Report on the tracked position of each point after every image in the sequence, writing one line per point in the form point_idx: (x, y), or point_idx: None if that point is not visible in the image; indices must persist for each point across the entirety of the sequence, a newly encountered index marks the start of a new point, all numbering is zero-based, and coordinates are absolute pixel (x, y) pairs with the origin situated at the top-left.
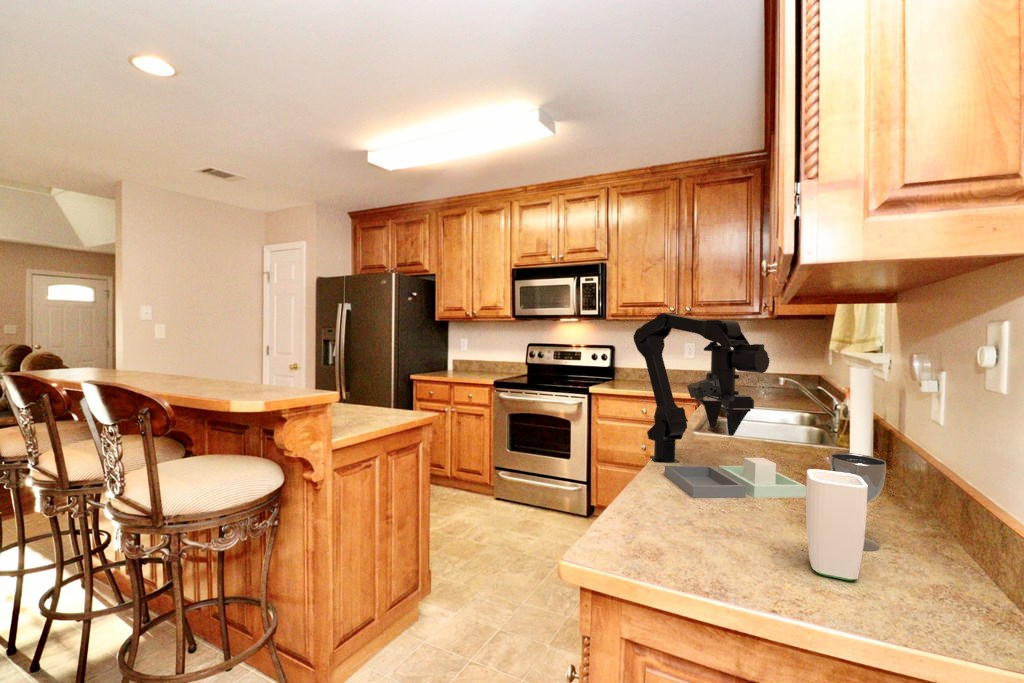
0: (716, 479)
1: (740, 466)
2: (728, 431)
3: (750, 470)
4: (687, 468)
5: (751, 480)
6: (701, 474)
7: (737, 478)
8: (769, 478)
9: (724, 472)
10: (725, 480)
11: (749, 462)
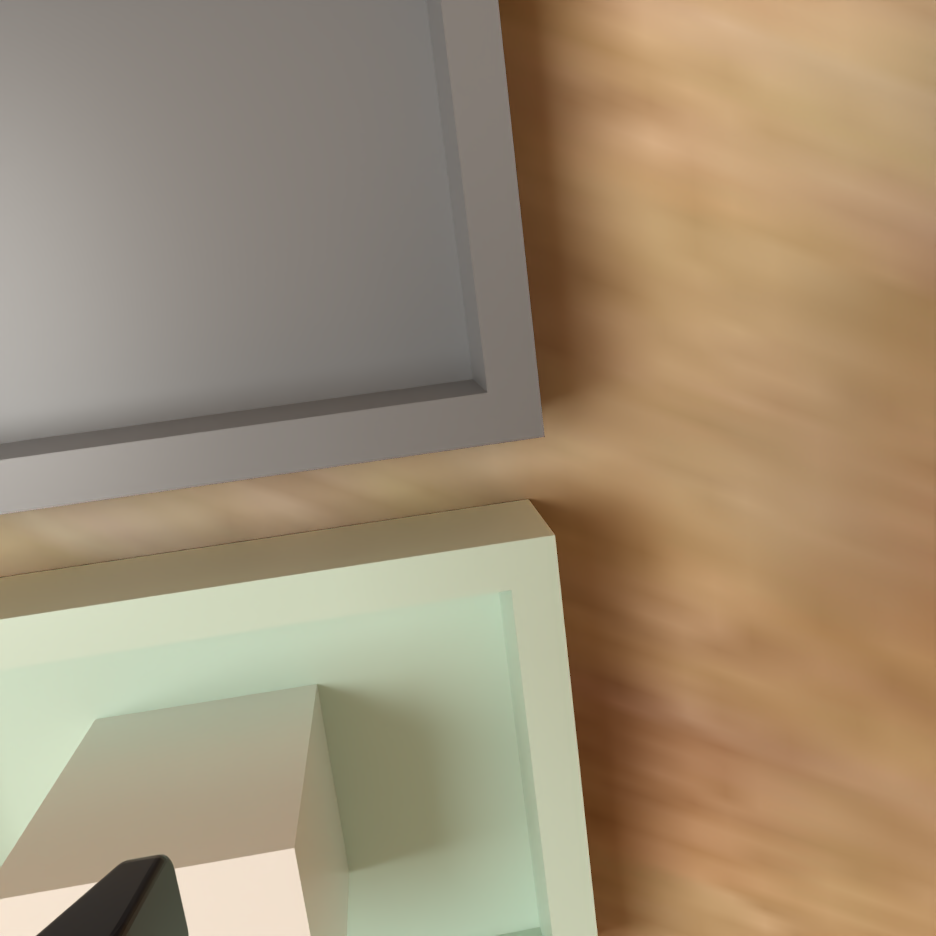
0: (288, 408)
1: (543, 785)
2: (98, 906)
3: (141, 801)
4: (447, 87)
5: (141, 744)
6: (463, 293)
7: (96, 597)
8: None
9: (396, 546)
10: (64, 445)
11: (140, 857)
